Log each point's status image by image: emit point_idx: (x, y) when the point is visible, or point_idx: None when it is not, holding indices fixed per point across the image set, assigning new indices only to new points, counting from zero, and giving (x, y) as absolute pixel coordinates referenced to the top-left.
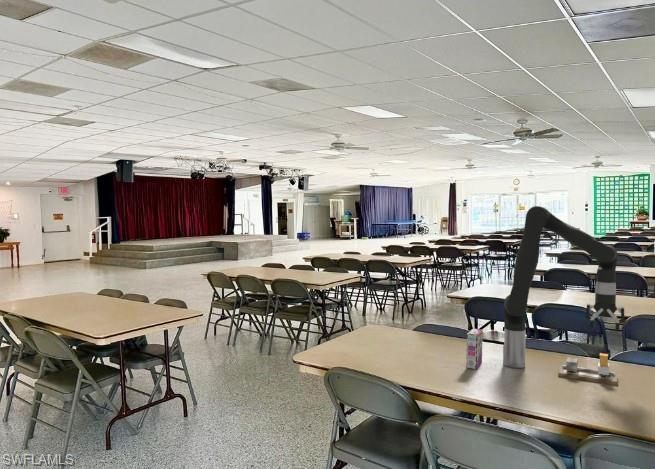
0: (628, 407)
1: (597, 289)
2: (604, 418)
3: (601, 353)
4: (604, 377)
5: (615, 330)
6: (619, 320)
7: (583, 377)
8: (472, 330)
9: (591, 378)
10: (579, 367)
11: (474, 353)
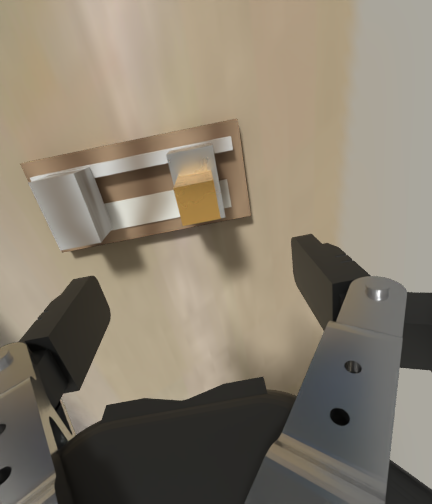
0: (289, 349)
1: None
2: None
3: (181, 189)
4: None
5: (299, 289)
6: (406, 357)
7: (145, 235)
8: None
9: (170, 230)
10: (98, 167)
11: None
